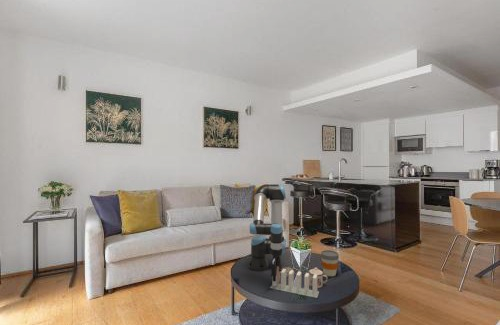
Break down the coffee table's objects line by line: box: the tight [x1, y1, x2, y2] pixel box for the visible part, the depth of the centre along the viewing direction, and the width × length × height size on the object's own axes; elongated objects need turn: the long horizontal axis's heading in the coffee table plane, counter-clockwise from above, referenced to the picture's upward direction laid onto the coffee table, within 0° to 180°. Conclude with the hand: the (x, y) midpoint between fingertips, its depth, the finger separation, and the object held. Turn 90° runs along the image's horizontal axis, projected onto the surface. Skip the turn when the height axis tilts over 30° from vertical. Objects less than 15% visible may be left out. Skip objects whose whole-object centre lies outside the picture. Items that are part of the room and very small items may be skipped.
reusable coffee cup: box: [320, 249, 340, 277], centre depth 193 cm, size 13×13×15 cm
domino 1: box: [276, 266, 280, 284], centre depth 172 cm, size 2×6×11 cm, turn 157°
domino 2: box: [280, 268, 287, 291], centre depth 170 cm, size 2×6×11 cm, turn 157°
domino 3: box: [287, 269, 295, 291], centre depth 168 cm, size 2×6×11 cm, turn 157°
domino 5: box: [303, 272, 310, 296], centre depth 165 cm, size 2×6×11 cm, turn 157°
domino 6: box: [312, 274, 318, 296], centre depth 163 cm, size 2×6×11 cm, turn 157°
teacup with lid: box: [308, 267, 328, 289], centre depth 175 cm, size 12×9×12 cm
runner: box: [269, 283, 320, 299], centre depth 168 cm, size 30×8×1 cm, turn 67°
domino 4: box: [295, 271, 302, 293], centre depth 167 cm, size 2×6×11 cm, turn 157°
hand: (276, 283), depth 172 cm, fingers closed on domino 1, 5 cm apart
